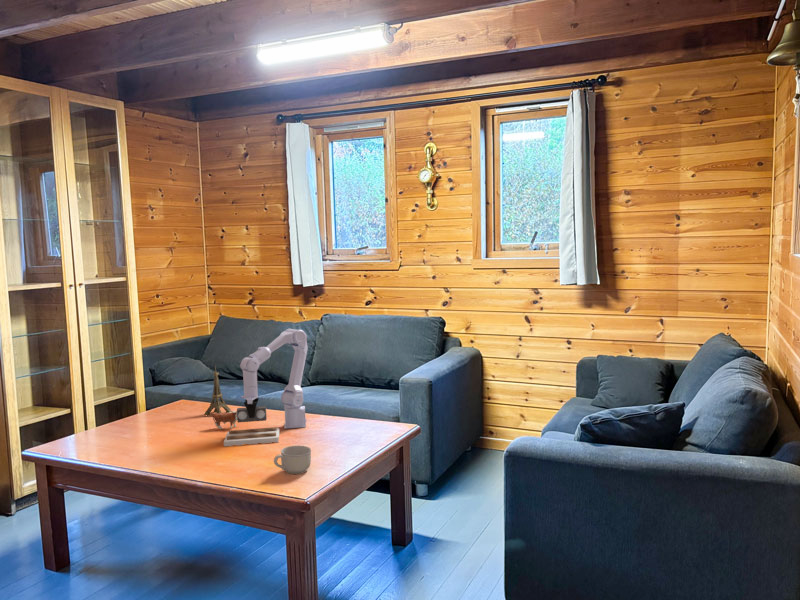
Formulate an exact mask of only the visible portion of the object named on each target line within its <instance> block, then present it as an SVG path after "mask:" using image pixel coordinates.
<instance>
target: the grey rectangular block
mask: <svg viewBox="0 0 800 600" xmlns="http://www.w3.org/2000/svg"><path fill="white" fill-rule="evenodd" d="M236 408H237V409H236V411H237V421H236V422H237V423H249V422H250V423H251V422H265V421H267V406H265V405H264V406H256V409H255V416H254V418H249V416H248V412H247V408H246V407H236Z"/></svg>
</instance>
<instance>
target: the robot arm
mask: <svg viewBox="0 0 800 600" xmlns="http://www.w3.org/2000/svg"><path fill="white" fill-rule="evenodd" d="M307 339H308V334H306V332H305V331H304V330H303V329H295V328H287V329H285V330H284V331H281V333H280V335H279V336H277V337H276V338H275V339H273V340H272V341H271V342H270V343H269V344H268V345H267V346H259V347H258V348H257V350H256V351H255V352H253V353H251V354H249V355H248V357H246V356H245V357H244V358H243V359H242V360H241V361H240V362H241V363H240V364H239V367H240V369H241V370H242V377H243V381H242V382H243V394H244V395H241V399H244V402H243V404H244V406H245V408H247V412H248V416H249V418H254V416H255V409H256V407H257V405H258V402H259V393H258V391H259V390H258V370H259V368H260V365H262V364H263V363H264V362H266V361H267V360H269V359H270V358H271V356H272V353H273V352H274V351H276V350H278V349H279V348H280V347H282V346H284V345H285V344H289V345H291V347H292V349H293V350H294V354H293V360H292V365H291V369H290V376H289V381H288V384H287V385H286V386H285V387H284V389H283V392H282V394H281V396H280V401H281V403H282V404H283V407H284V426H283V427H284V430H285V429H296V428H297V429H298V428H306V426H307V418H306V406H305V405H303V403H304V390H303V389H302V386H301V385H302V381H303V375H304V369H305V363H306V359H307V354H308V349H309V347H308V342H307Z"/></svg>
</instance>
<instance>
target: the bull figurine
mask: <svg viewBox="0 0 800 600" xmlns="http://www.w3.org/2000/svg"><path fill="white" fill-rule="evenodd" d="M212 420H213V421H214V424H215V426H216V427H217V429H220V430H223V429H224V428H223V427H222V425H221V422H222V423H223V424H224V425H226V423H229V424H230V427H229V429H231V428H237V427H236V426H237V425H236V422H237V410H232V412H229V413H226V412H221V413H217V412H214V414H213V415H212Z"/></svg>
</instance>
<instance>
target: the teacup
mask: <svg viewBox="0 0 800 600" xmlns="http://www.w3.org/2000/svg"><path fill="white" fill-rule="evenodd" d="M311 458H312V449H311V448H310V447H309V446H306V445H289V446H285V447H283V448H282V449H280V454H276V455H275V457H274V458H273V463H274V465H275V466H276V467H278V468H280V469H281V470H283V471H285V472H286V473H288V474H289V475H300V474H303V473H305V472H306V471H307V470H308V469H309V468H310V466H311V461H312V459H311ZM278 459H281V461H280V462H281V464H279V463H278Z"/></svg>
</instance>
